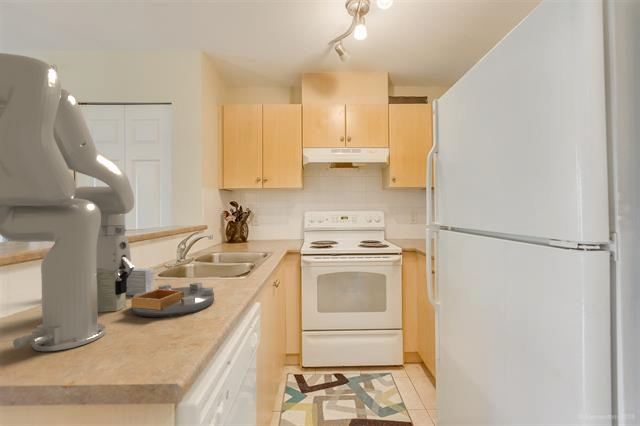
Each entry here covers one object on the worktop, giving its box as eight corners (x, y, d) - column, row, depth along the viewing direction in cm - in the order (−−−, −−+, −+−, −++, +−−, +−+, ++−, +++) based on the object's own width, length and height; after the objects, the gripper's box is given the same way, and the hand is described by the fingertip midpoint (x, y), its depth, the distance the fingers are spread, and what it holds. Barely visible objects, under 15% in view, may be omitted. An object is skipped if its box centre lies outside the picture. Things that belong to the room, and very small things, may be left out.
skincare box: (126, 306, 89) (125, 266, 89) (116, 311, 85) (116, 269, 85) (104, 307, 89) (104, 266, 89) (94, 312, 85) (93, 269, 85)
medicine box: (154, 292, 105) (154, 267, 105) (146, 296, 100) (145, 270, 100) (133, 292, 105) (133, 267, 105) (124, 295, 101) (123, 270, 101)
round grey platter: (180, 320, 77) (180, 302, 77) (112, 313, 82) (112, 296, 82) (227, 295, 98) (227, 281, 98) (171, 291, 104) (171, 278, 104)
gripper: (144, 231, 88) (145, 291, 88) (98, 230, 93) (99, 287, 93) (121, 233, 81) (122, 298, 81) (73, 232, 85) (74, 294, 86)
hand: (110, 292), depth 87 cm, fingers closed on skincare box, 7 cm apart
